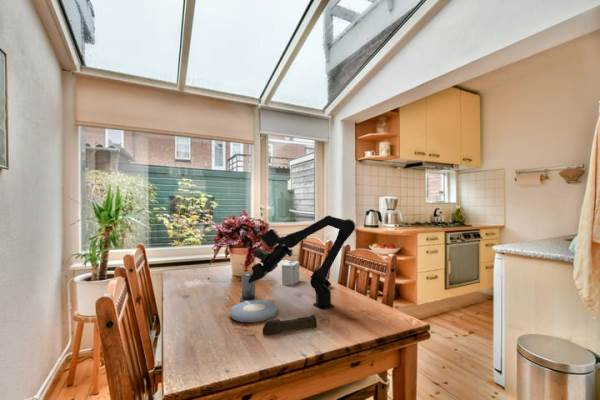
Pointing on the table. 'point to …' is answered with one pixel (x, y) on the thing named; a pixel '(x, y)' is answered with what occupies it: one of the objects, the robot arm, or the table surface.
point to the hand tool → (288, 325)
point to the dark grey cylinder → (247, 288)
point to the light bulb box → (290, 273)
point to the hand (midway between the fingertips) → (253, 279)
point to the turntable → (253, 311)
